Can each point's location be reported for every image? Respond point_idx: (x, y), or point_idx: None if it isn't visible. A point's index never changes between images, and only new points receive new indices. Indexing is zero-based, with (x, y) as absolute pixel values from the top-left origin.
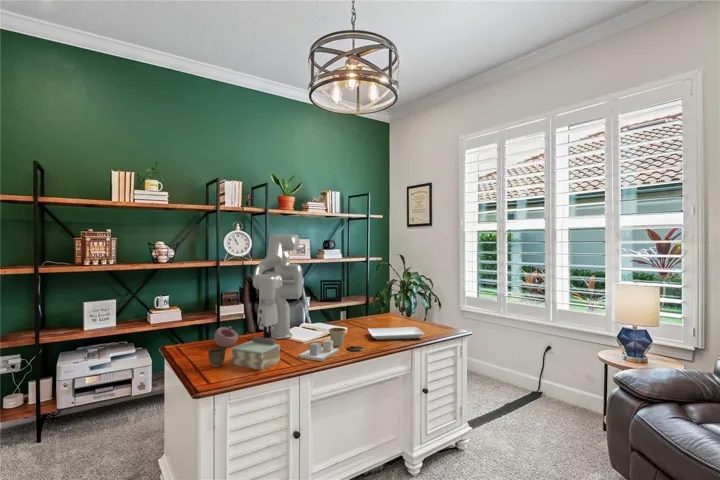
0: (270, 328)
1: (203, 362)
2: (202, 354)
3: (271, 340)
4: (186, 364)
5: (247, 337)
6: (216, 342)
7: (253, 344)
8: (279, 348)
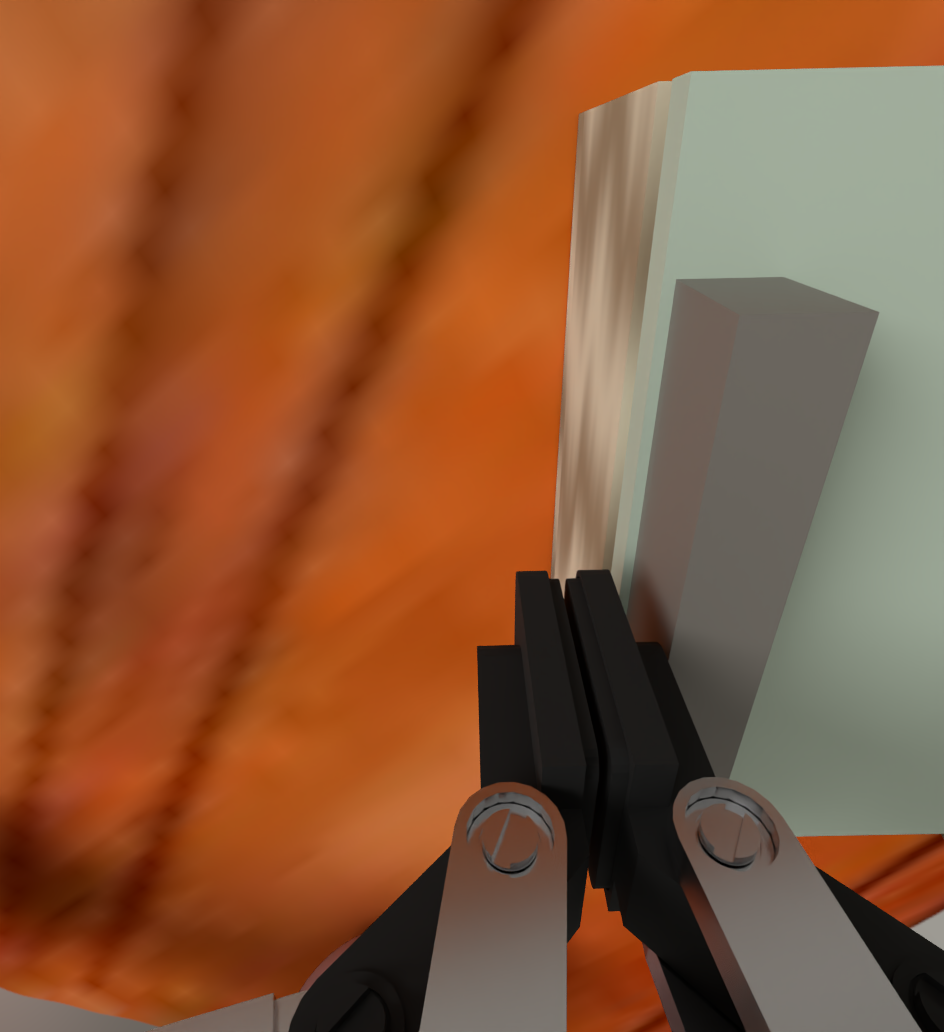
0: (562, 911)
1: (830, 848)
2: (639, 946)
3: (838, 380)
4: (899, 896)
5: (82, 972)
6: None
7: (818, 697)
8: (669, 86)
